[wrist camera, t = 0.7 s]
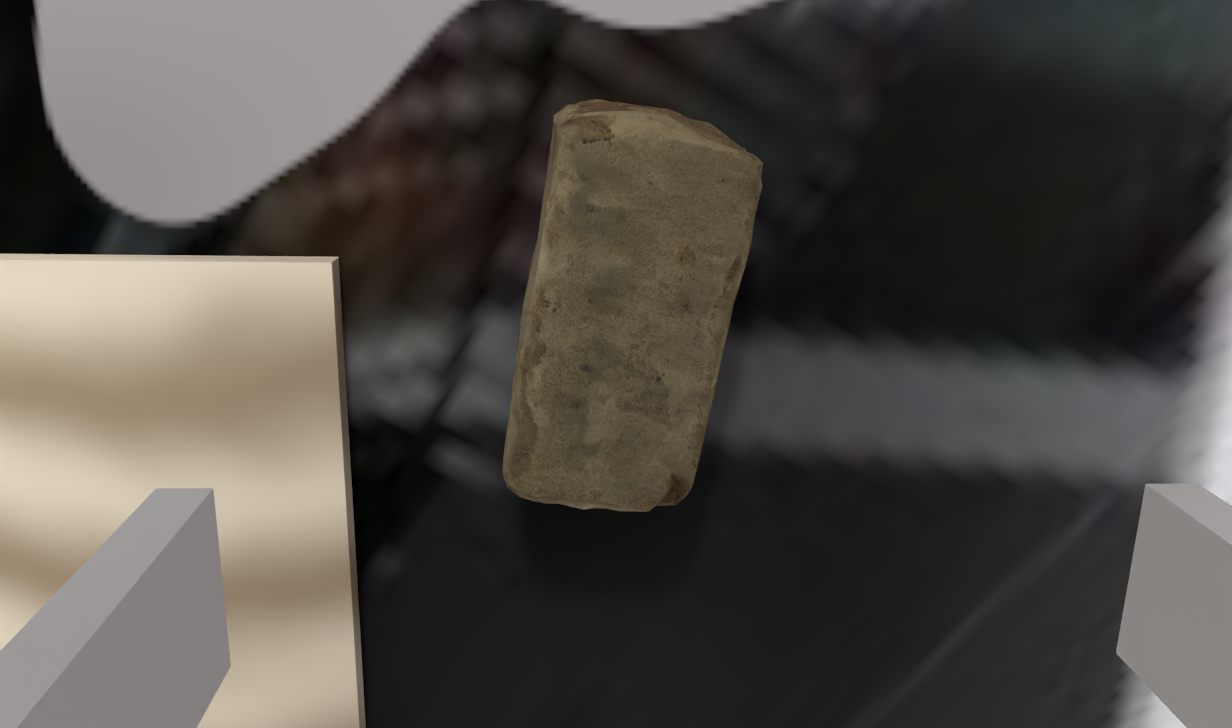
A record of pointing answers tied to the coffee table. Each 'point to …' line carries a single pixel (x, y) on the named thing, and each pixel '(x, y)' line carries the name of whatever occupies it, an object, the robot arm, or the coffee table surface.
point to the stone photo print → (190, 452)
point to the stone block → (627, 306)
